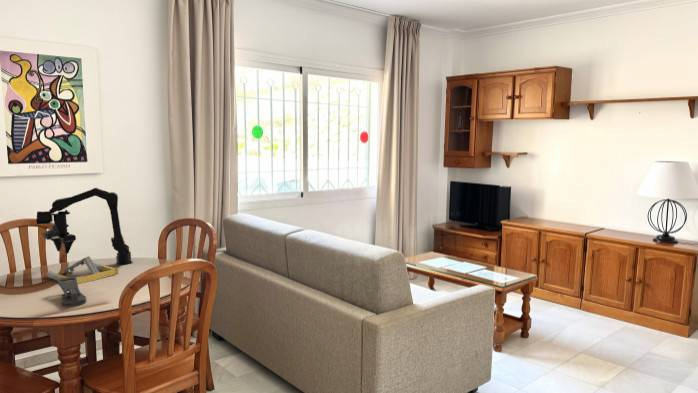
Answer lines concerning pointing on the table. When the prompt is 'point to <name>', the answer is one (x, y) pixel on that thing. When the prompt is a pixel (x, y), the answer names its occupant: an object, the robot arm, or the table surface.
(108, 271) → the guide channel
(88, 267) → the bracket
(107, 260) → the table surface
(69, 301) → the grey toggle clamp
